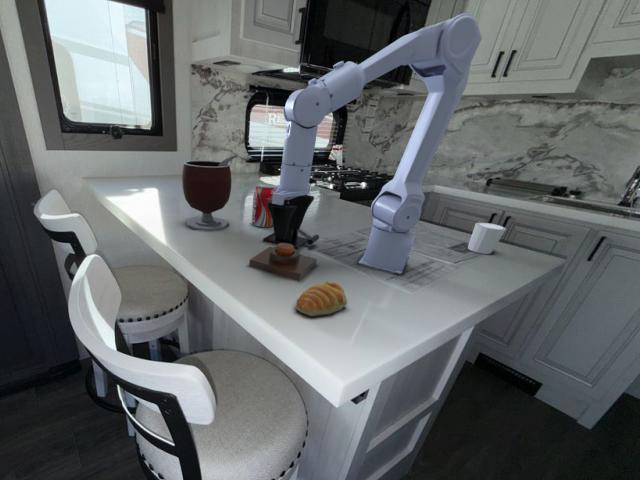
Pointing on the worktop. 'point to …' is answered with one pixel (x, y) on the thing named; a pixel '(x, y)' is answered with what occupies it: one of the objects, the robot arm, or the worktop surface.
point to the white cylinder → (485, 237)
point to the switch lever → (308, 236)
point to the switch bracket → (288, 239)
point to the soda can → (262, 205)
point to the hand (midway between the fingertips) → (287, 233)
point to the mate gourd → (207, 190)
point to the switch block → (283, 263)
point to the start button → (285, 249)
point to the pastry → (322, 299)
